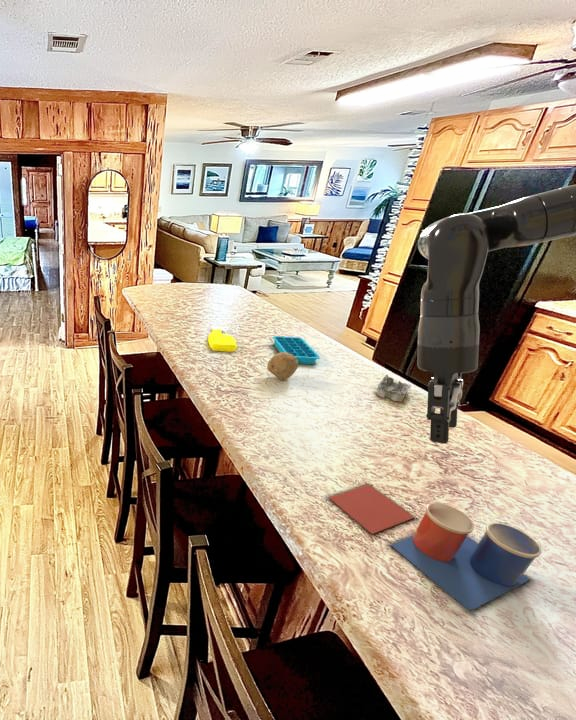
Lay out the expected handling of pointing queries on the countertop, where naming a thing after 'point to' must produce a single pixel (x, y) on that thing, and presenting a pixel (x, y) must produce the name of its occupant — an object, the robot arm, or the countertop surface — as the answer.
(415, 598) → the countertop surface
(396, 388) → the egg carton
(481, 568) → the blue crock
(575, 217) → the robot arm
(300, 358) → the ice cube tray
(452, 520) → the red tapered cylinder
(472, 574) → the blue mat
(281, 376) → the natural sponge
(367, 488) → the rust mat
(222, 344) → the yellow lump
